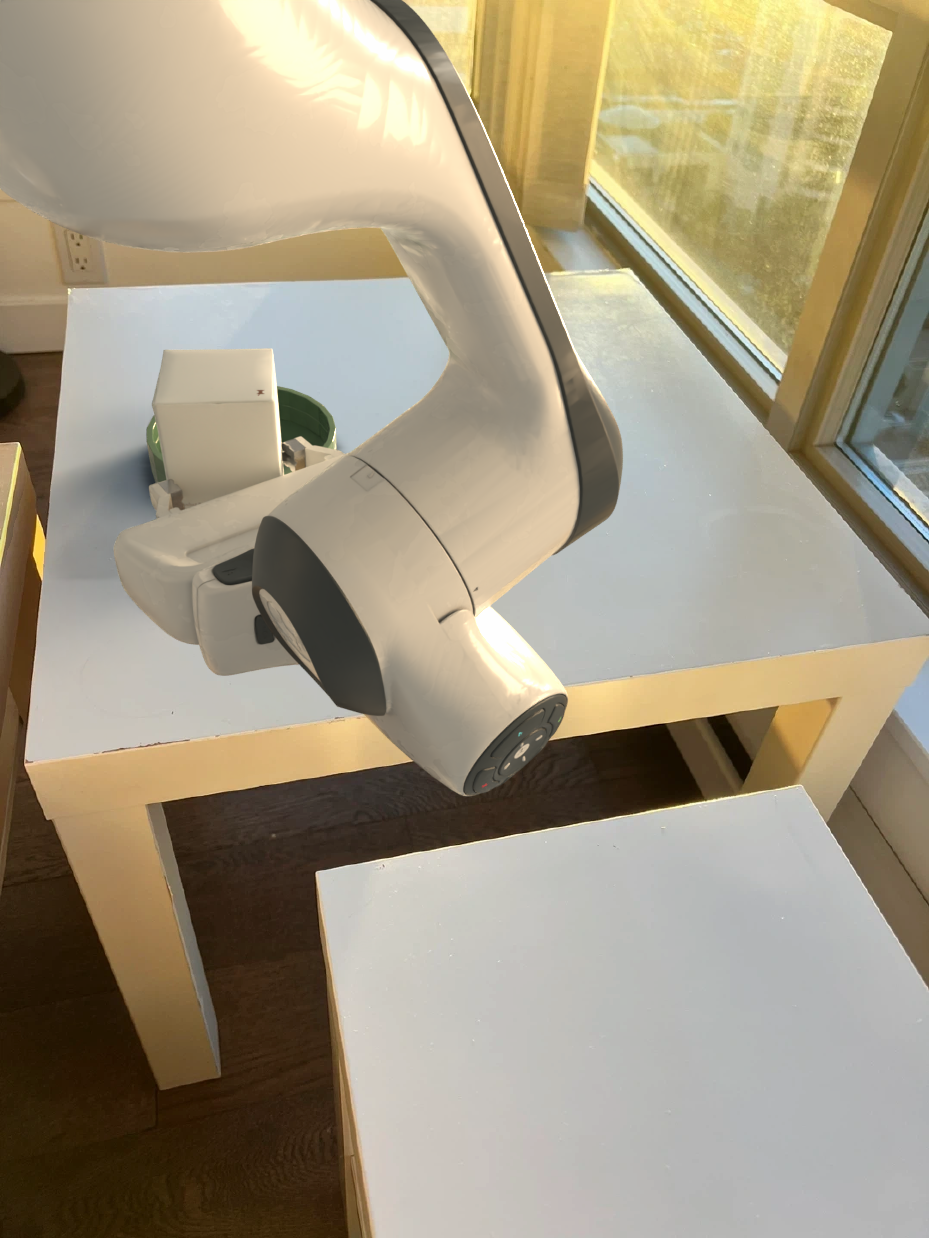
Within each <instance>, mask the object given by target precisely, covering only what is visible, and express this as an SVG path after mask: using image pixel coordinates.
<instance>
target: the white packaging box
mask: <svg viewBox="0 0 929 1238" xmlns="http://www.w3.org/2000/svg"><path fill="white" fill-rule="evenodd" d="M161 358H162V359H161V362H160V368H159V372H158V375H157V381H156V385H155V389H154V393H153V398H152V400H151V401H152V402H151V409H152V411H153V415H154V416H155V420H156V425H157V430H158V435H159V440H160V446H161V452H162V457H163V462H164V468H165V474H166V480H169V479H172V480H173V481H174V484H177V485H178V486H179V487H180V488H181V489H182V493H183V500H182V502H183V503H184V505H185V509H187V508H190V507H193V506H196V505H198V504H201V503H204V502H207V501H210V500H213V499H216V498H219V497H222V496H225V495H227V494H230V493H233V492H236V491H239V490H242V489H245V488H248V487H251V486H254V485H256V484H259V483H262V482H265V481H268V480H271V479H274V478H277V477H280V476H283V475H284V469H283V459H282V446H281V432H280V419H279V407H278V396H277V386H278V385H277V376H276V365H275V359H274V358H275V357H274V350H273V348H268V347H267V348H228V349H227V348H224V349H219V348H217V349H163V351H162V357H161Z"/></svg>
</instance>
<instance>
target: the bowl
mask: <svg viewBox="0 0 929 1238" xmlns="http://www.w3.org/2000/svg"><path fill="white" fill-rule="evenodd" d="M277 396H278V407H279V419H280V432H281V443H283V442H286V441H289V440H292V439H294V438H297V437H300V436H301V437H303V438H304V439H305V440H306V441H308V442H309V443H310V444H311V445H312V446H314V445H315V446H320V447H325V448H330V449H334V450H338V449H337V446H338V445H337V444H338V443H337V426H336V423H335V419H334V417H333V415H332V414H331V412H330V411H329V410H328V409H327V408H326V406H325V405H324V404H322V403H321V402H319V401H318V400H316V398H313V397H312V396H310V395H308V394H305V393H303V392H300V391H298V390H295V389H293V388H288V387H285V386H279V385H277ZM145 434H146V435H145V436H146V438H145V439H146V440H145V441H146V448H147V452H148V457H149V463H150V470H151V474H152V475H153V479H154V482H155V483H159V482H162V481H165V480H166V474H165V468H164V462H163V457H162V452H161V446H160V440H159V435H158V430H157V425H156V420H155V416H154V414H152V417H151V419H150V420H149V422H148V424H147V427H146V433H145ZM282 452H283V450H282ZM283 469H284V475H285V474H288V473H291V472H292V471H291V470H290V467H287V466H286V465H285V464H284V463H283Z"/></svg>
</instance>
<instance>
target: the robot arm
mask: <svg viewBox="0 0 929 1238" xmlns="http://www.w3.org/2000/svg"><path fill="white" fill-rule="evenodd" d="M0 190H1V191H2V192H3V193H4V194H6V195H7V196H8V197H9V198H11V199H12V200H14V201H15V202H17V203H19V204H20V205H22V206H23V207H24V208H26V209H28V210H29V211H31V212H32V213H33V214H35V215H38V216H40V217H41V218H43V219H46V220H47V221H48V222H51V223H53V224H55V225H57V226H59V227H61V228H64V229H66V230H68V231H71V232H74V233H76V234H79V235H82V236H83V237H87V238H90V239H93V240H95V241H99V242H104V243H107V244H112V245H116V246H121V247H127V248H131V249H139V250H147V251H154V252H155V251H156V252H166V253H213V252H214V253H215V252H227V251H236V250H244V249H247V248H253V247H256V246H261V245H265V244H269V243H275V242H278V241H283V240H287V239H293V238H297V237H302V236H307V235H313V234H318V233H325V232H333V231H343V230H352V229H353V230H354V229H369V228H370V229H380V230H381V231H382V233H383V235H384V236H385V237H386V240H387V241H388V242H389V244H390V247H391V248H392V250H393V252H394V253H395V255H396V258H397V259H398V261H399V262H400V264H401V266H402V269H403V270H404V272H405V274H406V276H407V277H408V279H409V281H410V283H411V285H412V286H413V288H414V290H415V292H416V294H417V295H418V297H419V299H420V301H421V302H422V305H423V307H424V309H425V310H426V312H427V314H428V315H429V317H430V319H431V321H432V323H433V324H434V326H435V328H436V331H437V332H438V333H439V335H440V337H441V339H442V341H443V343H444V344H445V346H446V349H447V350H448V358H447V362H446V364H445V367H444V369H443V371H442V373H441V374H440V376H439V377H438V379H437V380H436V382H435V383H434V384H433V386H432V387H431V389H430V390H429V391H428V392H427V393H426V394H425V395H424V396H423V397H422V398H420V400H418V401H417V402H416V403H415V404H413V405H411V406H410V407H409V408H408V409H406V410H405V411H404V412H402V413H401V414H400V415H398V416H396V417H395V418H394V419H393V420H392V421H390V422H389V423H388V424H386V425H385V426H383V427H382V428H380V430H378V431H377V432H375V433H374V434H373V435H371V436H370V437H368V438H367V439H365V440H364V441H363V442H362V443H360V444H359V445H358V446H356V447H355V448H354V449H352V450H351V451H349V452H346V453H344V452H343V451H341V450H338V449H337V450H334V449H330V448H325V447H320V446H315V445H314V446H312V445H311V444H310V443H309V442H308V441H306V440H305V439H304V438H303V437H301V436H300V437H297V438H294V439H292V440H289V441H286V442H283V443H281V446H282V450H283V452H282V459H283V463H284V464H285V465H286V466H287V467H290V470H291V471H292V472H291V473H288V474H285V475H283V476H280V477H277V478H274V479H271V480H268V481H265V482H262V483H259V484H256V485H254V486H251V487H248V488H245V489H242V490H239V491H236V492H233V493H230V494H227V495H225V496H222V497H219V498H216V499H213V500H210V501H207V502H204V503H201V504H198V505H196V506H193V507H190V508H187V509H185V505H184V503H183V502H182V500H183V493H182V489H181V488H180V487H179V486H178V485H177V484H174V481H173V480H172V479H169V480H165V481H162V482H159V483H156V482H155V483H153V484H150V485H149V486H148V491H149V496H150V502H151V505H152V507H153V509H154V510H155V517H156V519H155V518H154V519H152V520H149V521H147V522H144V523H140V524H138V525H135V526H131V527H128V528H126V529H123V530H121V531H120V532H119V533H118V535H117V537H116V539H115V542H114V544H113V556H114V561H115V567H116V571H117V575H118V578H119V581H120V584H121V586H122V588H123V590H124V591H125V593H126V594H127V595H128V597H129V598H130V599H131V600H132V602H133V603H134V604H135V605H136V606H137V607H138V608H139V609H140V610H141V611H142V612H143V613H144V614H145V615H146V617H148V618H149V619H150V620H151V622H153V623H154V624H155V625H156V626H158V628H159V629H161V630H162V631H163V632H164V633H166V634H167V635H168V636H170V637H171V638H173V639H174V640H176V641H178V642H181V643H184V644H187V645H193V646H199V650H200V652H201V656H202V657H203V661H204V664H205V665H206V666H207V668H208V669H209V670H210V671H211V672H212V673H213V674H215V675H217V676H220V677H221V676H222V677H228V676H229V677H230V676H235V675H240V674H244V673H250V672H255V671H259V670H265V669H266V670H267V669H273V668H278V667H286V666H287V667H288V666H297V665H298V666H300V667H301V668H302V669H303V670H304V672H306V674H307V675H308V676H310V678H311V679H312V680H313V681H314V682H315V683H316V684H317V685H318V687H320V688H321V690H322V691H323V692H324V693H325V694H326V695H327V696H328V697H329V698H330V700H331V701H332V702H333V703H334V705H335V706H336V707H337V708H341V709H343V710H347V711H350V712H354V713H358V714H362V715H364V716H365V717H366V719H368V721H369V722H371V723H372V724H373V726H374V727H375V728H376V729H378V731H380V732H381V733H382V735H383V736H385V738H387V739H388V741H390V742H391V743H392V744H393V745H394V746H395V747H396V748H397V749H398V750H400V751H401V752H402V753H403V754H404V755H405V756H406V757H408V758H409V759H410V760H411V761H412V762H414V763H415V764H416V765H417V766H419V767H420V768H421V769H423V771H425V772H426V773H427V774H429V776H431V777H432V778H434V779H435V780H437V781H438V782H439V783H441V784H443V785H444V786H445V787H447V788H448V789H449V790H450V791H453V792H454V793H456V794H458V795H459V796H463V797H473V796H477V795H480V794H486V793H488V792H489V791H492V790H493V789H495V788H498V787H500V786H502V785H503V784H505V783H506V782H507V781H509V779H511V778H512V777H513V776H514V775H516V774H517V773H518V772H519V771H521V769H523V768H524V767H525V766H527V764H528V763H529V762H531V761H532V760H533V759H534V758H535V757H536V756H537V755H538V754H539V753H540V752H541V751H542V750H543V749H544V748H545V747H546V746H547V743H548V742H549V741H550V740H551V738H552V737H553V736H554V735H555V734H556V733H557V732H558V729H559V727H560V725H561V723H562V722H563V719H564V717H565V712H566V709H567V707H568V703H569V695H568V692H567V689H566V688H565V686H564V685H563V683H562V682H561V681H560V679H559V678H558V677H557V675H556V674H555V673H554V672H553V670H552V669H551V668H550V667H549V665H548V664H547V663H546V662H545V661H544V660H543V658H542V657H541V656H540V655H539V654H538V653H537V651H535V650H534V648H532V646H531V645H530V644H529V643H528V642H527V641H526V640H525V639H524V638H523V636H521V635H520V634H519V632H517V630H516V629H514V627H513V626H512V625H510V623H508V622H507V620H505V618H503V616H501V614H499V613H498V612H497V611H496V610H495V609H494V608H493V607H492V605H493V604H494V603H496V602H497V601H498V600H499V599H501V598H502V597H503V596H504V595H505V594H507V593H508V592H509V591H510V590H512V589H513V588H514V587H515V586H516V585H518V584H519V583H520V582H522V581H523V580H524V579H525V578H526V577H527V576H528V575H530V574H531V573H532V572H533V571H535V570H536V569H537V568H538V567H539V566H540V565H542V564H543V563H544V562H545V561H547V560H548V559H550V557H552V556H555V555H557V554H559V553H560V552H561V551H563V550H564V549H566V548H568V547H569V546H570V545H572V544H574V543H575V542H576V541H578V540H580V539H581V538H582V537H583V536H585V535H587V534H588V533H589V532H591V531H592V530H594V529H595V528H597V527H598V526H600V525H601V524H602V523H604V522H606V521H607V520H608V519H610V517H611V516H612V515H613V513H614V511H615V509H616V506H617V504H618V500H619V494H620V491H621V483H622V477H623V466H624V448H623V438H622V434H621V431H620V428H619V425H618V422H617V420H616V418H615V416H614V414H613V412H612V410H611V408H610V406H609V404H608V403H607V401H606V399H605V397H604V396H603V394H602V392H601V390H600V389H599V387H598V386H597V384H596V383H595V380H593V377H592V376H591V375H590V373H589V371H588V370H587V368H586V366H585V365H584V363H583V362H582V360H581V358H580V356H579V355H578V353H577V350H576V348H575V347H574V344H573V342H572V339H571V337H570V334H569V332H568V329H567V326H566V325H565V322H564V320H563V317H562V314H561V312H560V310H559V308H558V305H557V302H556V299H555V298H554V295H553V292H552V290H551V288H550V285H549V282H548V280H547V277H546V275H545V272H544V269H543V267H542V265H541V263H540V262H541V261H540V259H539V257H538V254H537V252H536V249H535V247H534V245H533V242H532V239H531V237H530V235H529V232H528V229H527V227H526V225H525V222H524V220H523V217H522V215H521V212H520V210H519V207H518V204H517V202H516V200H515V197H514V195H513V192H512V190H511V187H510V185H509V182H508V181H507V178H506V175H505V173H504V170H503V168H502V166H501V163H500V161H499V159H498V156H497V154H496V152H495V149H494V147H493V145H492V142H491V140H490V138H489V136H488V132H487V130H486V128H485V126H484V124H483V122H482V119H481V118H480V115H479V113H478V111H477V109H476V107H475V105H474V102H473V100H472V98H471V96H470V94H469V92H468V90H467V88H466V86H465V84H464V82H463V80H462V78H461V77H460V74H459V73H458V71H457V69H456V67H455V66H454V64H453V62H452V61H451V59H450V57H449V55H448V54H447V52H446V50H445V49H444V48H443V46H442V44H441V43H440V41H439V40H438V38H437V37H436V36H435V34H434V33H433V31H432V30H431V29H430V27H429V26H428V25H427V24H426V22H425V21H424V20H423V18H422V17H421V16H420V15H419V14H418V13H417V12H416V11H415V10H414V9H413V7H411V6H410V5H409V4H408V3H406V2H405V1H404V0H0Z"/></svg>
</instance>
